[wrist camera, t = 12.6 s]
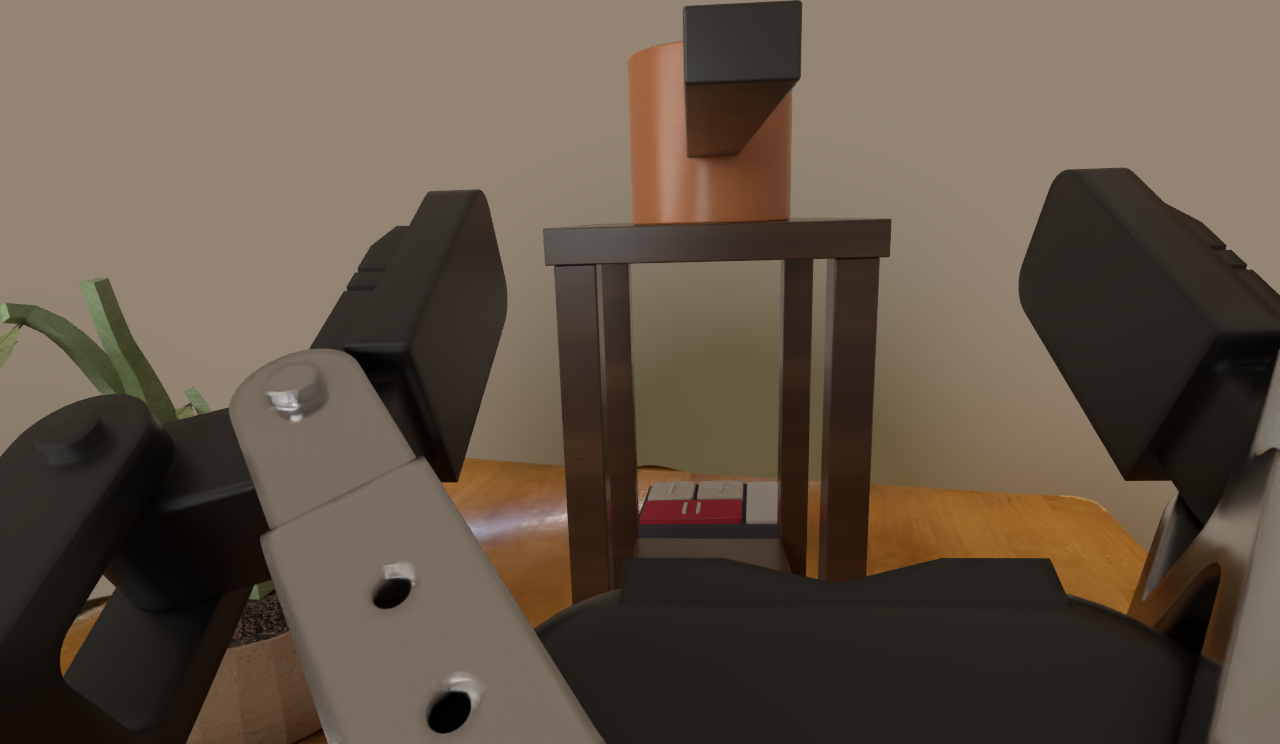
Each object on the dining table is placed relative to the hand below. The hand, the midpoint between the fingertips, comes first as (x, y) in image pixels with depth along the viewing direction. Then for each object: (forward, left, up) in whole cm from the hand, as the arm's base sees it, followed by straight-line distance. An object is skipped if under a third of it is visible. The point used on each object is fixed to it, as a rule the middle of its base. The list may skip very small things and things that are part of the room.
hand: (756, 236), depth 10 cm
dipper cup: (-3, +16, 0) cm, 16 cm away
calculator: (-9, +57, -32) cm, 66 cm away
